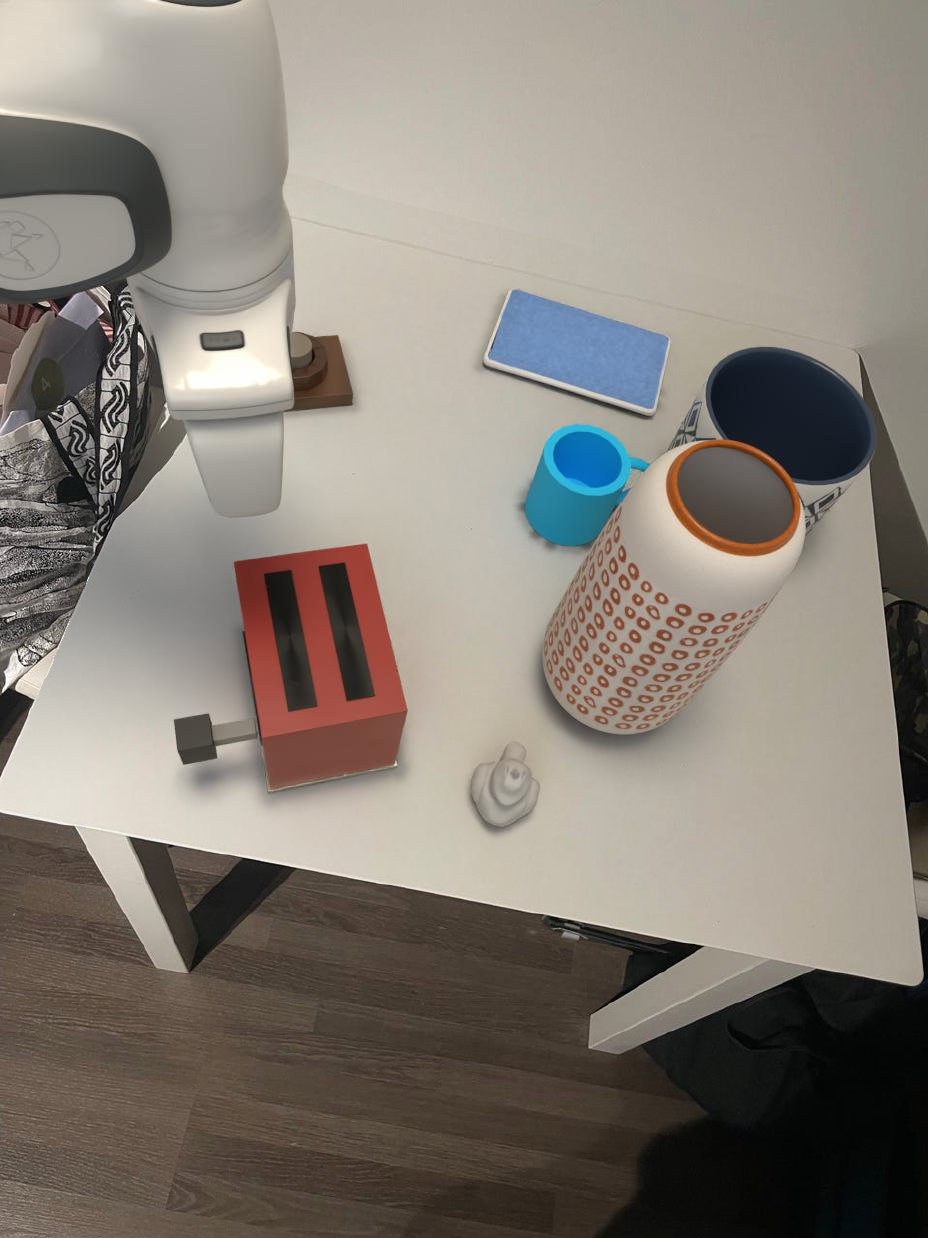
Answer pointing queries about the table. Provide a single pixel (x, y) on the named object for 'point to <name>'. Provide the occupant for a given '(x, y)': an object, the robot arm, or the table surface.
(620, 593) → the vase
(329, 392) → the control block
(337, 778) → the toaster
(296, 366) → the button
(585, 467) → the mug
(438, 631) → the table surface
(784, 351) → the planter
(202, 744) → the toaster slider
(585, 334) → the tablet
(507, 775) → the rubber duck
